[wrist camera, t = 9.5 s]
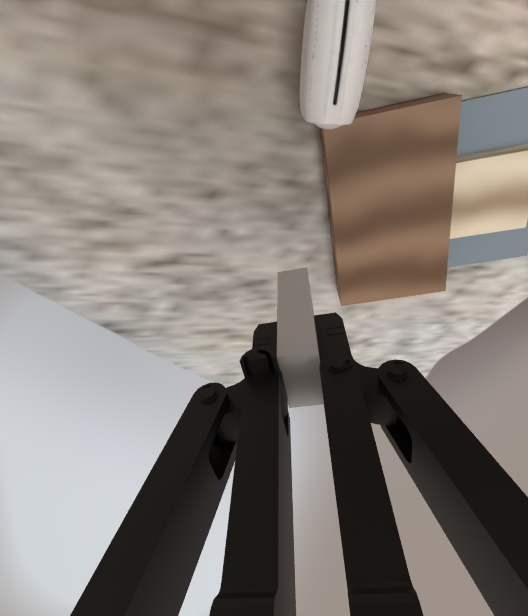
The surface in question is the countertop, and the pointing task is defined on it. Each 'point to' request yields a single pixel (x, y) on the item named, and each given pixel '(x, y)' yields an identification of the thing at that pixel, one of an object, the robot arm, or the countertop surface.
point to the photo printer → (334, 59)
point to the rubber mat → (483, 137)
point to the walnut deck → (392, 198)
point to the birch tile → (490, 192)
